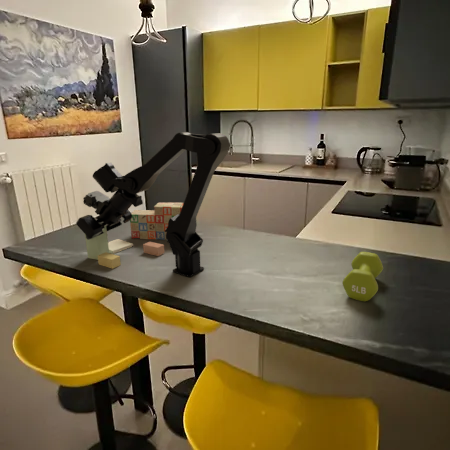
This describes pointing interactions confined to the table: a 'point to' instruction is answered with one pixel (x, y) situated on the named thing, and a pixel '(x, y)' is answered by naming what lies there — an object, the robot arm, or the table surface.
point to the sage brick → (97, 245)
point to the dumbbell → (363, 276)
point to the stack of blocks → (153, 220)
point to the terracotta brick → (153, 248)
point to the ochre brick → (109, 260)
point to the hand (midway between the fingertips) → (92, 235)
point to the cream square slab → (118, 245)
